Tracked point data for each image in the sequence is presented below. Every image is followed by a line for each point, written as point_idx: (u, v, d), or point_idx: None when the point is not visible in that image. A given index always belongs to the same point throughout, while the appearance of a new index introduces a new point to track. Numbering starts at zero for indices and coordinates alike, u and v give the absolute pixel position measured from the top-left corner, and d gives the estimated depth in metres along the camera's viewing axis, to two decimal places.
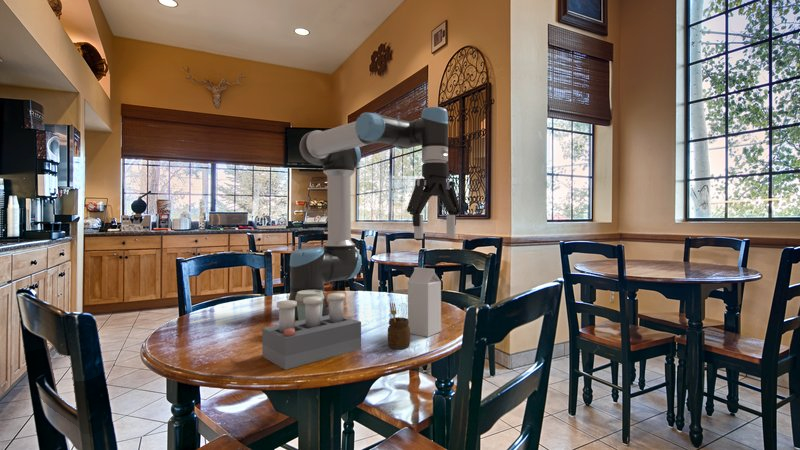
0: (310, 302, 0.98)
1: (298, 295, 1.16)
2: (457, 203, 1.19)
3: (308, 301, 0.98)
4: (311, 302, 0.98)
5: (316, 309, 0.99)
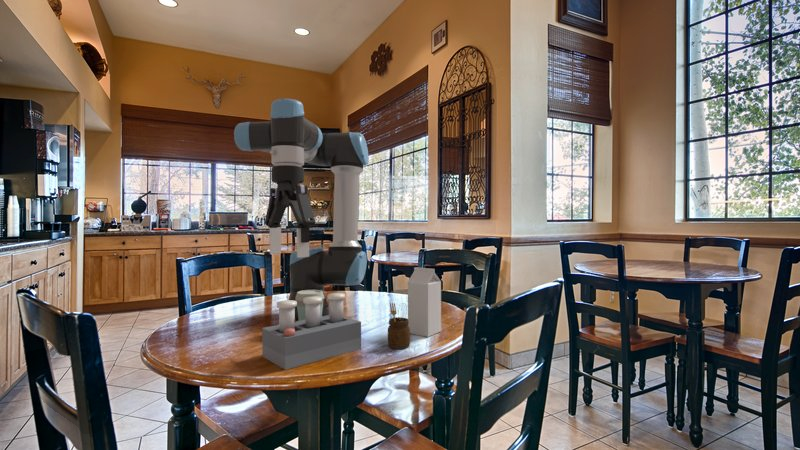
0: (310, 302, 0.98)
1: (298, 295, 1.16)
2: (301, 213, 0.89)
3: (308, 301, 0.98)
4: (311, 302, 0.98)
5: (316, 309, 0.99)
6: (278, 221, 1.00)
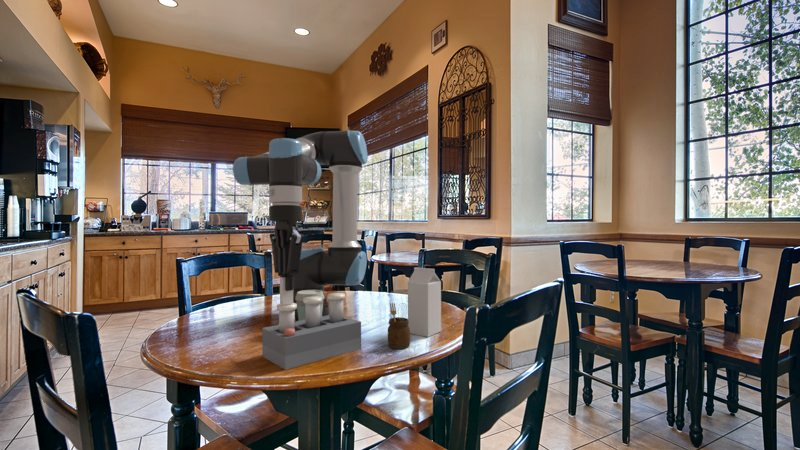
0: (310, 302, 0.98)
1: (298, 295, 1.16)
2: (289, 263, 0.92)
3: (308, 301, 0.98)
4: (311, 302, 0.98)
5: (316, 309, 0.99)
6: None
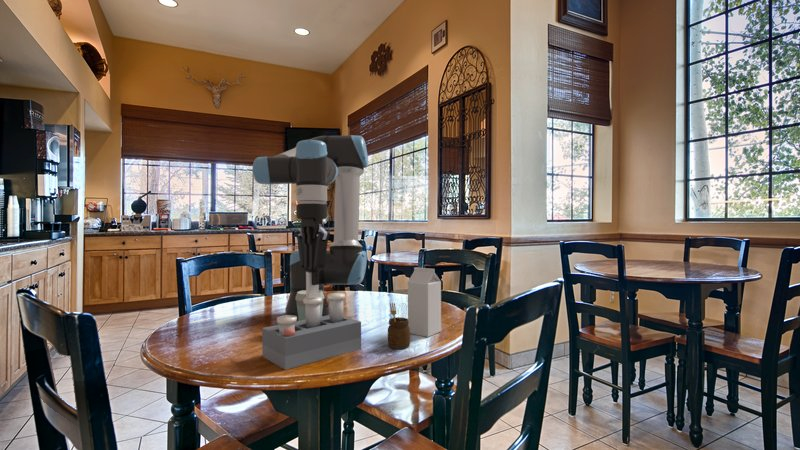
0: (310, 302, 0.98)
1: (298, 295, 1.16)
2: (315, 258, 0.97)
3: (308, 301, 0.98)
4: (311, 302, 0.98)
5: (316, 309, 0.99)
6: None
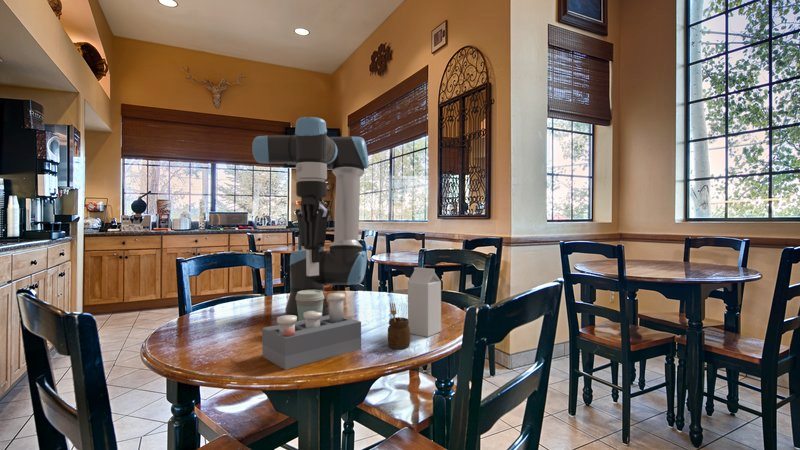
0: (310, 317, 0.98)
1: (298, 295, 1.16)
2: (315, 235, 0.97)
3: (308, 316, 0.98)
4: (311, 317, 0.98)
5: (316, 324, 0.99)
6: None
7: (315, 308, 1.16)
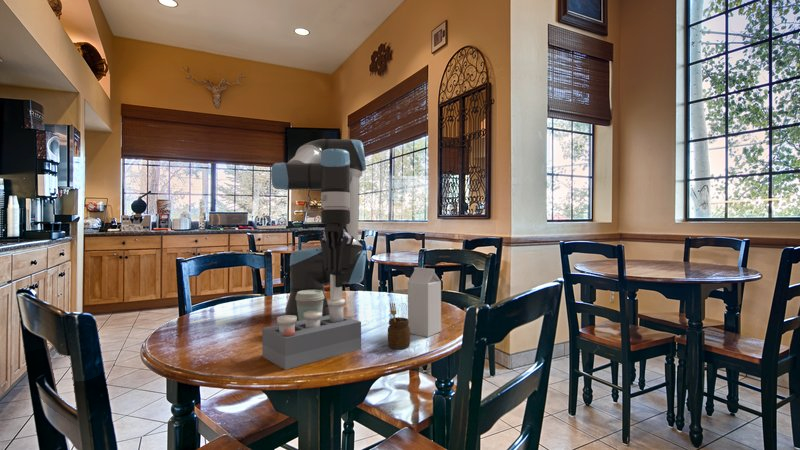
0: (310, 317, 0.98)
1: (298, 295, 1.16)
2: (340, 261, 1.01)
3: (308, 316, 0.98)
4: (311, 317, 0.98)
5: (316, 324, 0.99)
6: None
7: (315, 308, 1.16)
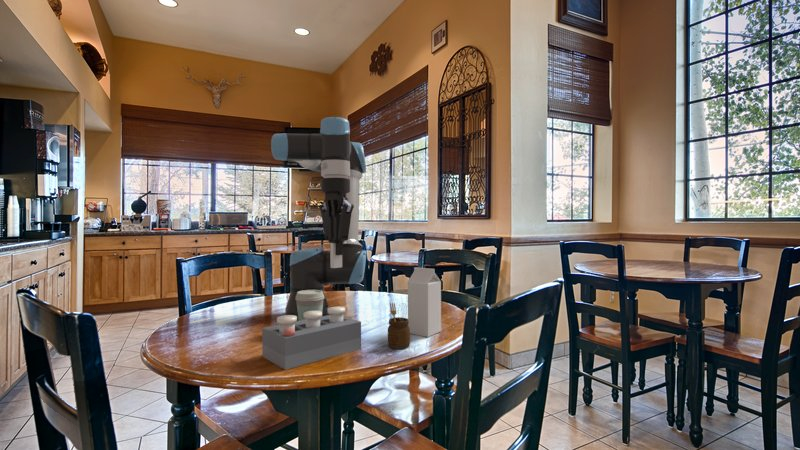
0: (310, 317, 0.98)
1: (298, 295, 1.16)
2: (340, 229, 1.02)
3: (308, 316, 0.98)
4: (311, 317, 0.98)
5: (316, 324, 0.99)
6: None
7: (315, 308, 1.16)
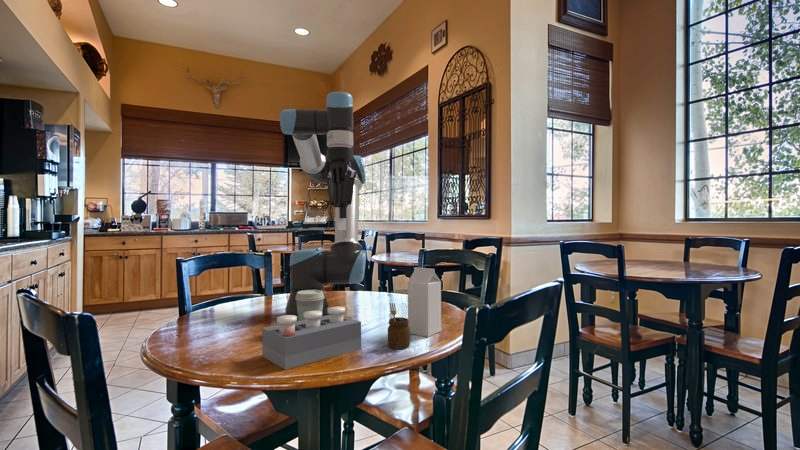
0: (310, 317, 0.98)
1: (298, 295, 1.16)
2: (344, 194, 1.12)
3: (308, 316, 0.98)
4: (311, 317, 0.98)
5: (316, 324, 0.99)
6: None
7: (315, 308, 1.16)
